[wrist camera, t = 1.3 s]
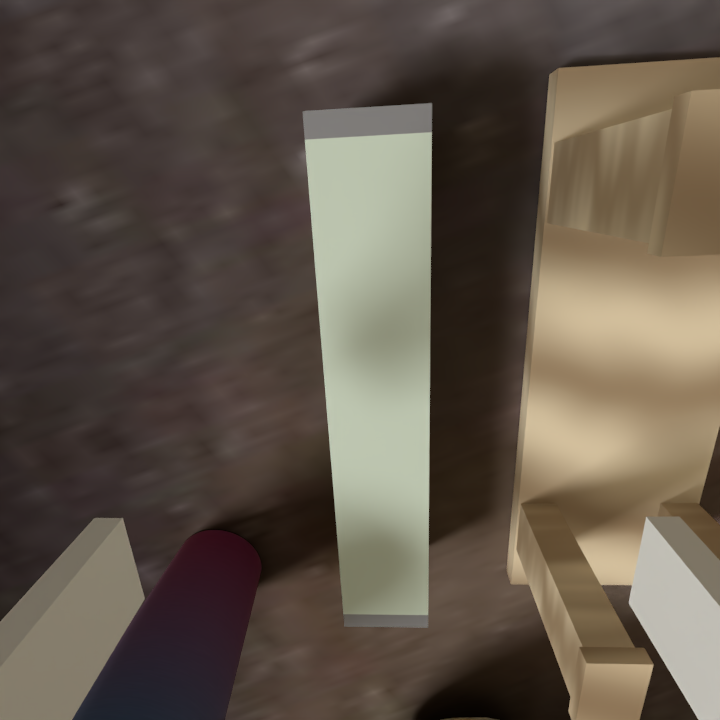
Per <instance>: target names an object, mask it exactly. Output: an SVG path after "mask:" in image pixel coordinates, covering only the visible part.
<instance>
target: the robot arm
mask: <svg viewBox="0 0 720 720" xmlns="http://www.w3.org/2000/svg"><path fill="white" fill-rule="evenodd" d="M144 599H145V598H144V594H143V591H142V587H141V583H140V580H139V576H138V572H137V569H136V565H135V561H134V558H133V554H132V550H131V547H130V543H129V539H128V536H127V532H126V528H125V525H124V521H123V518H94V519H93V520H92V521H91V523H90V524H89V525H88V526H87V527H86V528H85V529H84V530H83V531H82V532H81V534H80V535H79V536H78V537H77V538H76V539H75V540H74V541H73V542H72V543H71V545H70V546H69V547H68V548H67V549H66V550H65V551H64V552H63V553H62V554H61V556H60V557H59V558H58V559H57V560H56V561H55V562H54V563H53V564H52V565H51V567H50V568H49V569H48V570H47V571H46V572H45V573H44V574H43V575H42V576H41V578H40V579H39V580H38V581H37V582H36V583H35V584H34V585H33V586H32V588H31V589H30V590H29V591H28V592H27V593H26V594H25V595H24V596H23V597H22V599H21V600H20V601H19V602H18V603H17V604H16V605H15V606H14V607H13V608H12V610H11V611H10V612H9V613H8V614H7V615H6V616H5V617H4V618H3V619H2V621H1V622H0V720H72V719H73V717H74V715H75V714H76V712H77V710H78V709H79V707H80V706H81V704H82V702H83V701H84V699H85V697H86V696H87V694H88V692H89V691H90V689H91V687H92V686H93V684H94V682H95V681H96V679H97V677H98V676H99V674H100V672H101V671H102V669H103V667H104V666H105V664H106V662H107V661H108V659H109V657H110V656H111V654H112V652H113V651H114V649H115V647H116V646H117V644H118V642H119V641H120V639H121V637H122V636H123V634H124V632H125V631H126V629H127V627H128V626H129V624H130V622H131V621H132V619H133V617H134V616H135V614H136V612H137V611H138V609H139V607H140V606H141V604H142V602H143V601H144ZM629 605H630V606H631V608H632V610H633V611H634V613H635V615H636V616H637V618H638V620H639V621H640V623H641V625H642V626H643V628H644V630H645V631H646V633H647V635H648V636H649V638H650V640H651V641H652V643H653V645H654V646H655V648H656V650H657V651H658V653H659V655H660V656H661V658H662V660H663V661H664V663H665V665H666V666H667V668H668V670H669V671H670V673H671V675H672V676H673V678H674V680H675V681H676V683H677V685H678V686H679V688H680V690H681V691H682V693H683V695H684V696H685V698H686V700H687V701H688V703H689V705H690V706H691V708H692V710H693V711H694V713H695V715H696V716H697V718H698V720H720V560H719V559H718V558H717V557H716V556H715V555H714V553H713V552H712V551H711V550H710V549H709V548H708V547H707V546H706V545H705V544H704V543H703V542H702V540H701V539H700V538H699V537H698V536H697V535H696V534H695V533H694V532H693V531H692V530H691V529H690V527H689V526H688V525H687V524H686V523H685V522H684V521H683V520H682V519H681V518H680V517H646V520H645V525H644V530H643V535H642V540H641V545H640V550H639V555H638V559H637V564H636V569H635V574H634V579H633V584H632V589H631V594H630V599H629Z"/></svg>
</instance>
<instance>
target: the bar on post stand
mask: <svg viewBox="0 0 720 720" xmlns="http://www.w3.org/2000/svg"><path fill="white" fill-rule="evenodd" d="M719 427H720V57H717V58H702V59H687V60H672V61H657V62H642V63H627V64H612V65H597V66H581V67H566V68H558V69H557V70H555V71H554V72H552V73H551V74H550V75H549V85H548V96H547V108H546V120H545V131H544V143H543V154H542V166H541V177H540V189H539V201H538V212H537V224H536V235H535V247H534V259H533V270H532V282H531V293H530V305H529V317H528V328H527V340H526V351H525V363H524V375H523V386H522V398H521V409H520V421H519V433H518V444H517V456H516V467H515V479H514V490H513V502H512V514H511V525H510V537H509V548H508V560H507V573H508V576H509V579H510V582H511V584H529V585H530V588H531V591H532V594H533V596H534V599H535V602H536V604H537V607H538V610H539V613H540V615H541V618H542V621H543V624H544V626H545V629H546V632H547V634H548V637H549V640H550V643H551V645H552V648H553V651H554V653H555V656H556V659H557V662H558V664H559V667H560V670H561V673H562V675H563V678H564V681H565V683H566V686H567V689H568V692H569V694H570V697H571V698H570V703H569V709H568V711H569V714H570V717H571V720H640V716H641V712H642V708H643V704H644V700H645V697H646V693H647V689H648V685H649V681H650V677H651V673H652V669H653V666H654V664H653V662H652V661H651V659H650V657H649V655H648V654H647V652H646V650H645V648H635V647H634V645H633V643H632V641H631V639H630V638H629V636H628V634H627V632H626V630H625V628H624V627H623V625H622V623H621V621H620V619H619V618H618V616H617V614H616V612H615V610H614V608H613V607H612V605H611V603H610V601H609V599H608V597H607V596H606V594H605V592H604V590H603V588H602V587H601V585H632V584H633V579H634V574H635V569H636V564H637V559H638V555H639V550H640V545H641V540H642V535H643V530H644V525H645V520H646V517H680V518H681V519H682V520H683V521H684V522H685V523H686V524H687V525H688V526H689V527H690V529H691V530H692V531H693V532H694V533H695V534H696V535H697V536H698V537H699V538H700V539H701V540H702V542H703V543H704V544H705V545H706V546H707V547H708V548H709V549H710V550H711V551H712V552H713V553H714V555H715V556H716V557H717V558H718V559H719V560H720V525H719V524H718V523H717V522H716V521H715V520H714V519H713V518H712V517H711V516H710V515H709V514H708V513H707V512H706V511H705V510H704V509H703V508H702V507H701V506H700V505H699V503H700V499H701V495H702V492H703V488H704V484H705V480H706V476H707V473H708V469H709V465H710V461H711V457H712V453H713V450H714V446H715V442H716V438H717V434H718V431H719Z"/></svg>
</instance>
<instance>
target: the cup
mask: <svg viewBox="0 0 720 720" xmlns="http://www.w3.org/2000/svg"><path fill="white" fill-rule="evenodd" d="M260 574H261V561H260V557H259V555H258V553H257V551H256V550H255V549H254V547H253V546H252V545H251V544H250V543H249V542H247V541H246V540H245V539H243V538H242V537H240V536H238V535H236V534H233V533H231V532H227V531H223V530H206V531H202V532H198V533H196V534H194V535H192V536H191V537H190V538H188V539H187V540H186V541H185V543H184V544H183V545H182V547H181V548H180V550H179V551H178V553H177V554H176V556H175V557H174V559H173V560H172V562H171V563H170V565H169V566H168V568H167V569H166V571H165V572H164V574H163V575H162V576H161V578H160V579H159V581H158V582H157V584H156V585H155V587H154V588H153V590H152V591H151V593H150V594H149V596H148V597H147V599H146V600H145V602H144V603H143V605H142V606H141V608H140V609H139V611H138V612H137V614H136V615H135V617H134V618H133V620H132V621H131V623H130V624H129V626H128V627H127V629H126V631H125V632H124V634H123V636H122V637H121V639H120V641H119V642H118V644H117V646H116V647H115V649H114V651H113V652H112V654H111V656H110V657H109V659H108V661H107V662H106V664H105V666H104V667H103V669H102V671H101V672H100V674H99V676H98V677H97V679H96V681H95V682H94V684H93V686H92V687H91V689H90V691H89V692H88V694H87V696H86V697H85V699H84V701H83V702H82V704H81V706H80V707H79V709H78V710H77V712H76V714H75V715H74V717H73V719H72V720H225V716H226V712H227V708H228V704H229V700H230V696H231V692H232V688H233V684H234V680H235V676H236V672H237V668H238V664H239V659H240V655H241V651H242V647H243V643H244V639H245V635H246V631H247V627H248V623H249V619H250V615H251V611H252V607H253V603H254V598H255V594H256V590H257V586H258V582H259V578H260Z"/></svg>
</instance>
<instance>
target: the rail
mask: <svg viewBox="0 0 720 720" xmlns="http://www.w3.org/2000/svg"><path fill="white" fill-rule="evenodd" d="M303 122H304V134H305V147H306V159H307V171H308V184H309V196H310V208H311V221H312V233H313V245H314V258H315V270H316V282H317V294H318V307H319V319H320V331H321V344H322V356H323V368H324V381H325V393H326V405H327V418H328V430H329V442H330V455H331V467H332V479H333V491H334V504H335V516H336V528H337V541H338V553H339V565H340V578H341V590H342V602H343V615H344V626H349V627H424V628H428V569H429V441H430V312H431V183H432V103H425V104H409V105H393V106H377V107H361V108H345V109H329V110H313V111H303Z"/></svg>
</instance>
